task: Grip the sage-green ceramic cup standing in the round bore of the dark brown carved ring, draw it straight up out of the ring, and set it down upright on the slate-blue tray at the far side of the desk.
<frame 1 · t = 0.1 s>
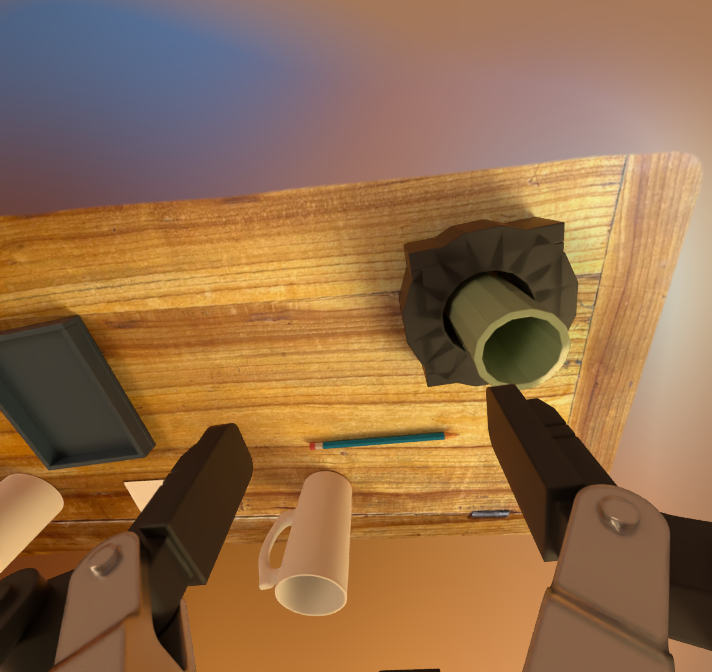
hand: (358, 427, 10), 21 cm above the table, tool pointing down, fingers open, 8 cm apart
tray: (70, 394, 37), on the table
mug: (315, 488, 42), on the table
mug 2: (22, 494, 45), on the table
pencil: (383, 437, 38), on the table
dark brown carved ring: (472, 297, 30), on the table
cup: (492, 319, 25), in the dark brown carved ring
coaster: (164, 500, 44), on the table
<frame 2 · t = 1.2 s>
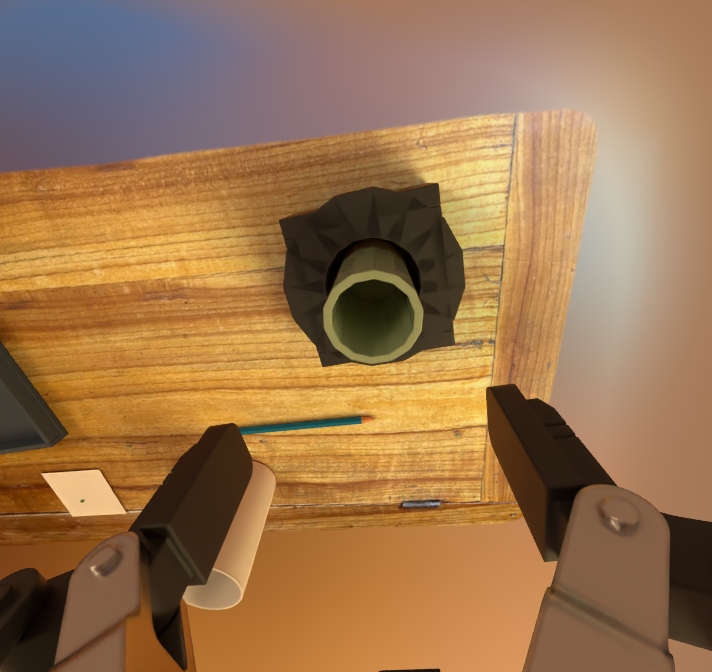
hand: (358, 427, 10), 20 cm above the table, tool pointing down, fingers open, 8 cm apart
mug: (239, 478, 40), on the table
pencil: (301, 422, 36), on the table
dark brown carved ring: (373, 272, 28), on the table
cup: (372, 291, 23), in the dark brown carved ring
coaster: (86, 492, 42), on the table
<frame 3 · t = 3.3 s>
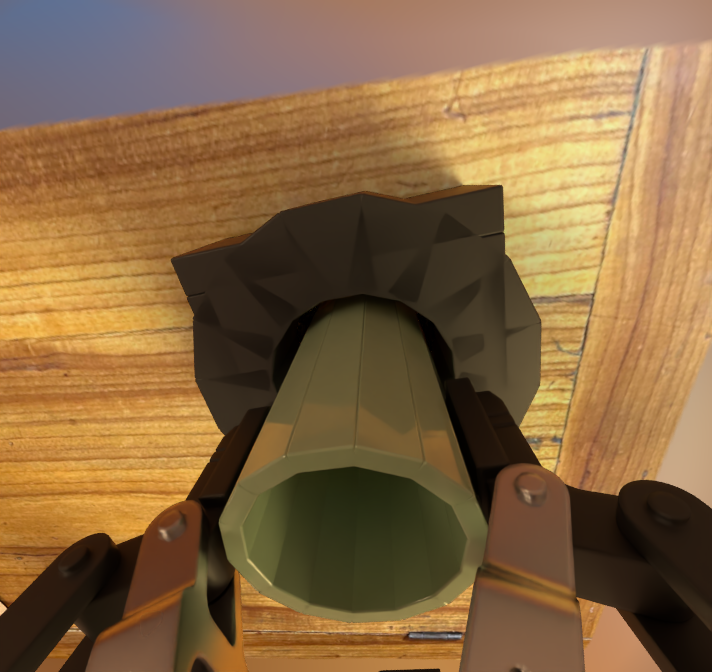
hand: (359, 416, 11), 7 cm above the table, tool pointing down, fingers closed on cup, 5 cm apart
dark brown carved ring: (365, 334, 17), on the table
cup: (361, 397, 12), in the dark brown carved ring, touching gripper
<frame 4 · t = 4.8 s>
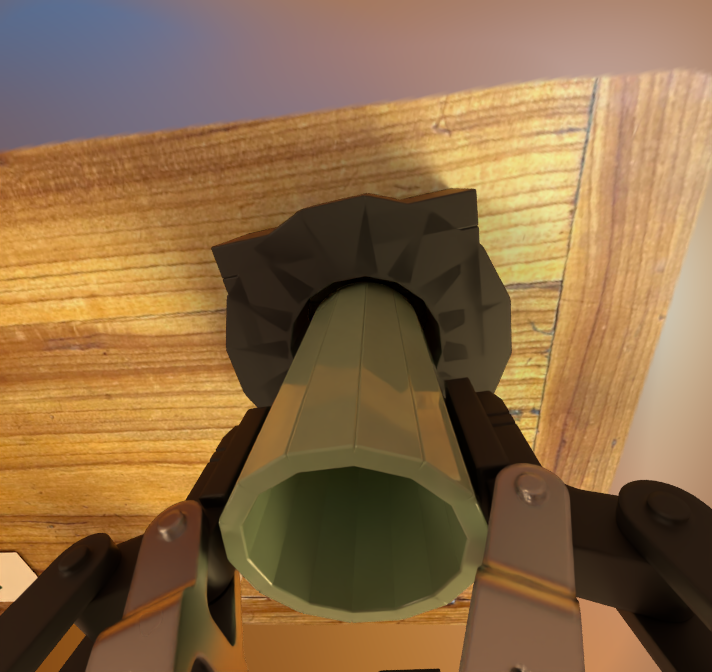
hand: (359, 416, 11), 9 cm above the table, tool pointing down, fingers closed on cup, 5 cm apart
dark brown carved ring: (367, 316, 20), on the table
cup: (361, 397, 12), point 8 cm above the table, touching gripper
coaster: (5, 576, 33), on the table
when the fingers open (7 cm above the table, at t = 13.6 s): cup stays where it is, resting on tray.
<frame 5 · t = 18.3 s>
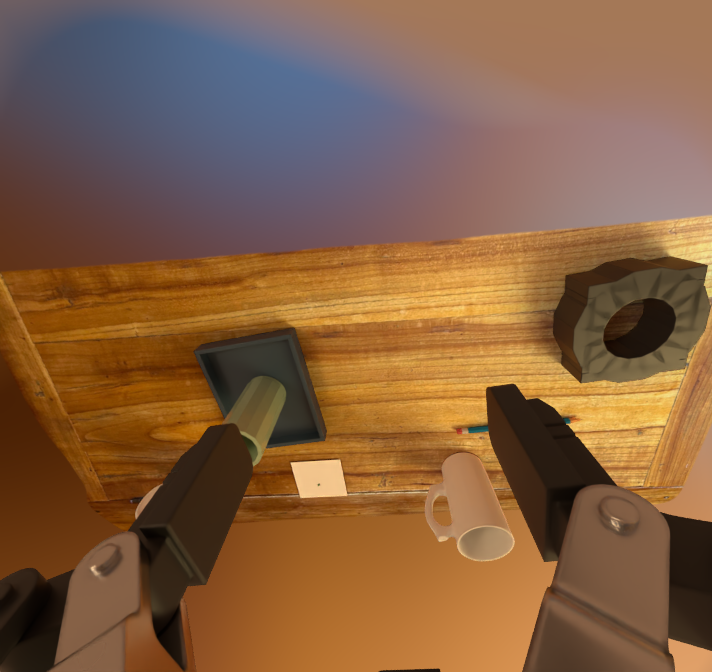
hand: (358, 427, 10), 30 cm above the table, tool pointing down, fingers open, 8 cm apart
tray: (267, 390, 46), on the table
mug: (450, 467, 51), on the table
pencil: (516, 423, 47), on the table
dark brown carved ring: (611, 314, 39), on the table
cup: (253, 417, 41), in the tray, point 6 cm above the table
coaster: (319, 478, 53), on the table
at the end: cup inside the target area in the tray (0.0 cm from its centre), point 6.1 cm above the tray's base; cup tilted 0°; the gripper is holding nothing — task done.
